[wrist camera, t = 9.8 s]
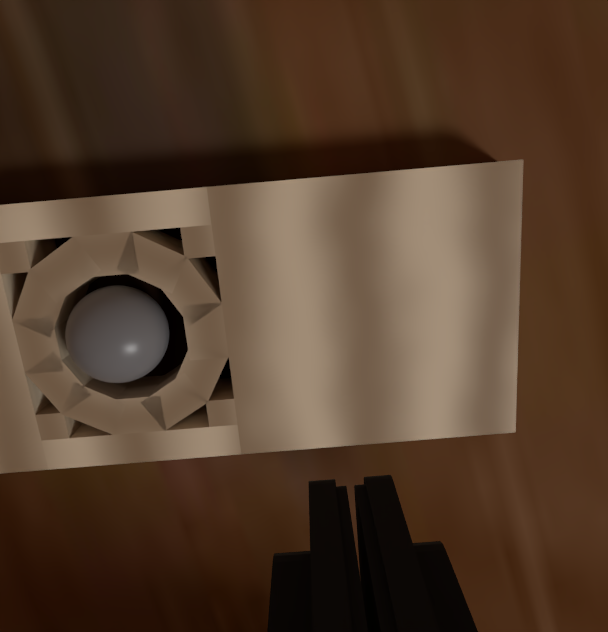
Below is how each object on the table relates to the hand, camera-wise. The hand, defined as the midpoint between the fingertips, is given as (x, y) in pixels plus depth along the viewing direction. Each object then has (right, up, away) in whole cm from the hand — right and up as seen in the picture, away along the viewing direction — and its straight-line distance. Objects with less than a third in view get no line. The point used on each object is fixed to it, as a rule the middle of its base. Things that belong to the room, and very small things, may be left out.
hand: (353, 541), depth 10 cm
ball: (-10, +4, +16) cm, 19 cm away
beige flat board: (-4, +5, +18) cm, 19 cm away
